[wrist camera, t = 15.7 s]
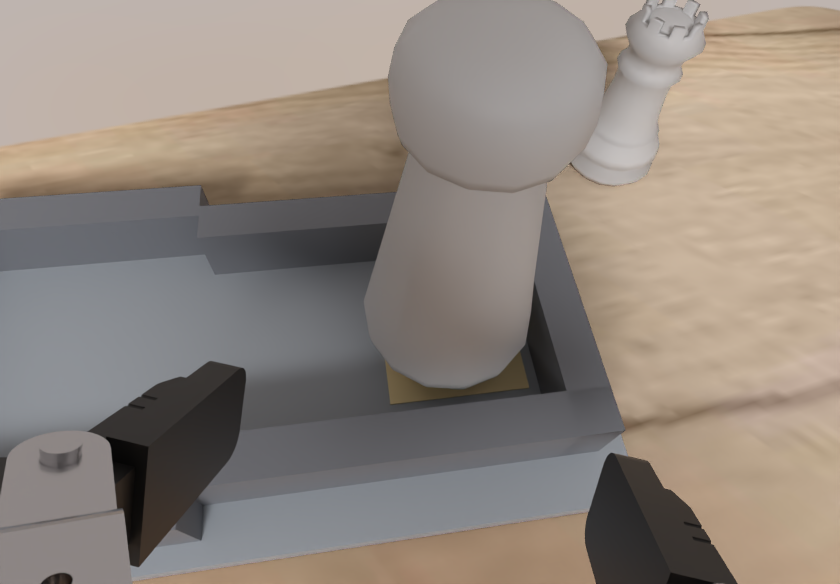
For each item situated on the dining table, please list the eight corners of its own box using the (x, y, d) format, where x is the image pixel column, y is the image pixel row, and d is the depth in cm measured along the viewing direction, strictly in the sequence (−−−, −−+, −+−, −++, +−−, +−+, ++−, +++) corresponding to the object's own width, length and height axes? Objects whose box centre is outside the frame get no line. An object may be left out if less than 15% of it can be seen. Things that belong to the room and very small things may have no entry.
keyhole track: (-194, 631, 16) (-324, 633, 13) (-57, 246, 23) (-121, 191, 20) (631, 505, 19) (676, 484, 16) (533, 201, 26) (552, 148, 23)
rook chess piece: (666, 174, 28) (758, 30, 21) (596, 202, 27) (670, 59, 20) (613, 118, 30) (682, -31, 23) (545, 142, 29) (597, -8, 22)
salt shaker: (358, 283, 22) (333, -53, 11) (493, 266, 23) (598, -63, 12) (378, 422, 19) (374, 157, 8) (533, 398, 20) (720, 125, 9)
